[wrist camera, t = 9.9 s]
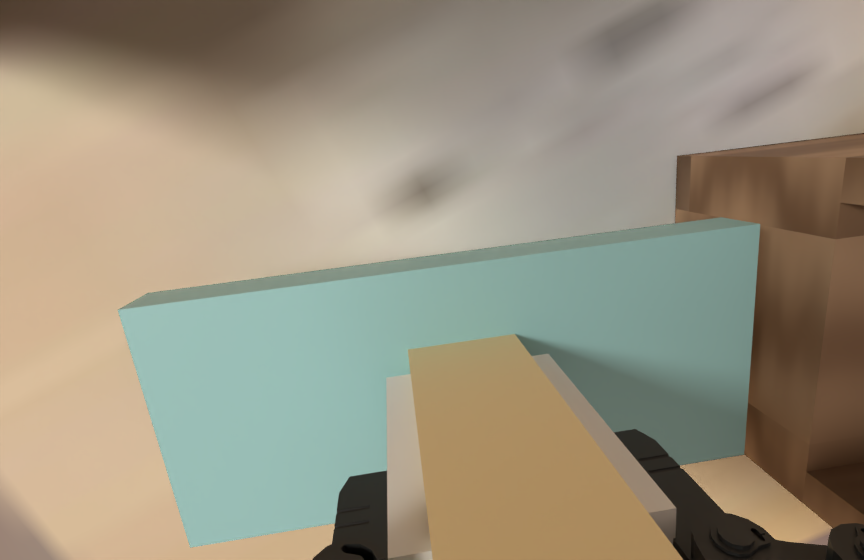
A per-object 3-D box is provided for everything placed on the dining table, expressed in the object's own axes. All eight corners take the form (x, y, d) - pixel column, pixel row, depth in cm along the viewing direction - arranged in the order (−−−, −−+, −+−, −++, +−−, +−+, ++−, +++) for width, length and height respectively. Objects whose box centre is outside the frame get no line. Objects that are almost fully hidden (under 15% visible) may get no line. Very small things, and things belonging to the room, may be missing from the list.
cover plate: (147, 293, 15) (-350, 571, 5) (721, 217, 17) (1278, 311, 6) (209, 509, 18) (-45, 1014, 7) (711, 427, 19) (1110, 754, 8)
